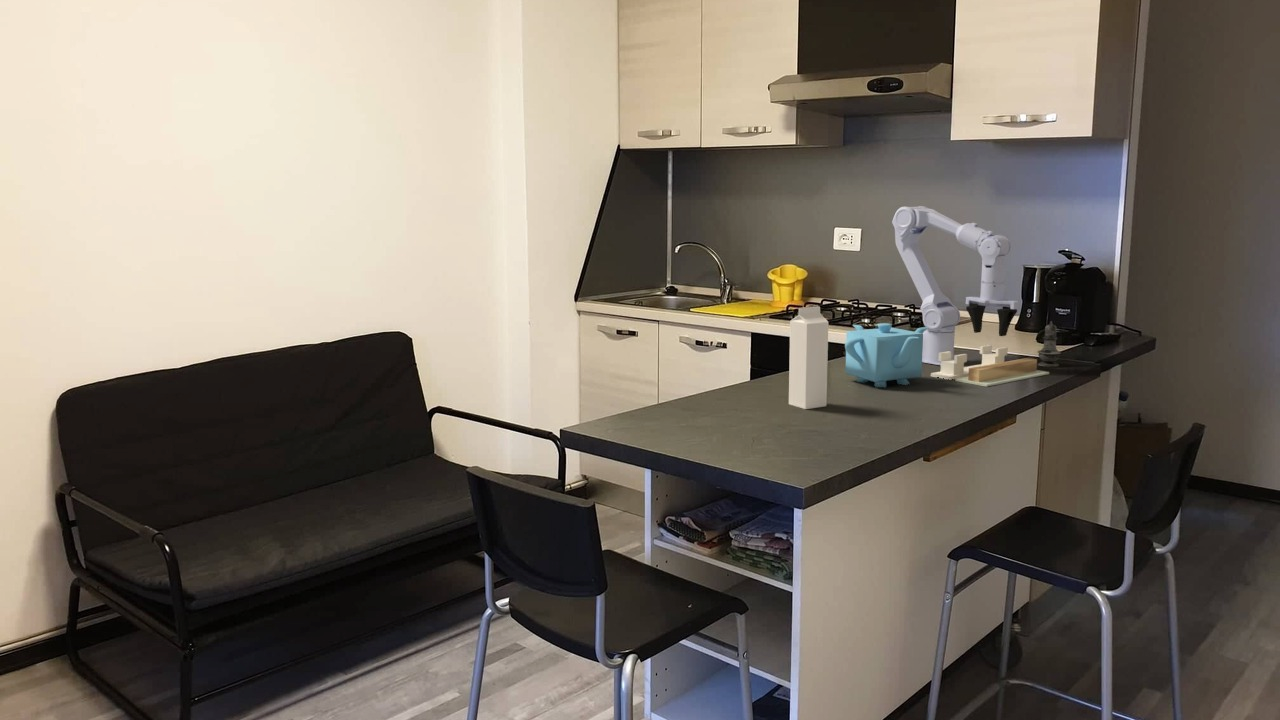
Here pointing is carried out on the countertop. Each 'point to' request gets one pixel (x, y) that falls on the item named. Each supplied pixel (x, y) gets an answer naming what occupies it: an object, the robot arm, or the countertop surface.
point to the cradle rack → (956, 366)
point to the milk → (808, 359)
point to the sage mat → (1004, 378)
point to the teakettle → (884, 354)
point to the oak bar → (1002, 369)
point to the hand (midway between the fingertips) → (989, 334)
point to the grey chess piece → (1049, 347)
